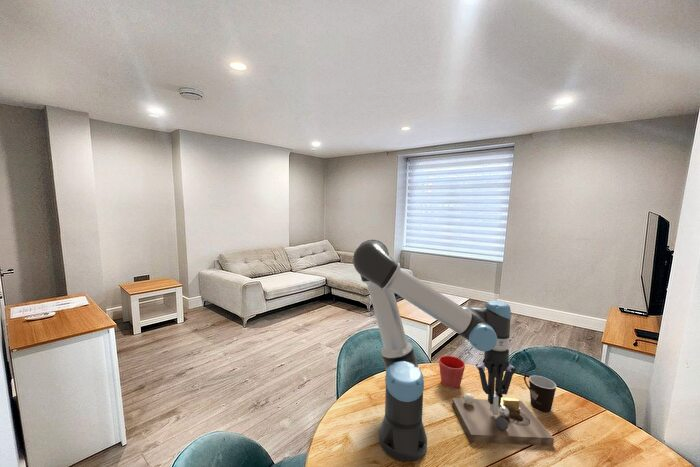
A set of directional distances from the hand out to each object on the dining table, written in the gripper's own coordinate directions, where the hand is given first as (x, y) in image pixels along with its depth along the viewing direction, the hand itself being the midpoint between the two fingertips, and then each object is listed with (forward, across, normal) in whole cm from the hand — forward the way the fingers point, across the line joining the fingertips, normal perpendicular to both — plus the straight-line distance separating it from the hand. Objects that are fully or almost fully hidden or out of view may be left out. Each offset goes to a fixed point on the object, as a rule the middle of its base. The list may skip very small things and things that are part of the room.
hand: (493, 412), depth 99 cm
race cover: (+1, +8, +6) cm, 10 cm away
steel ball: (0, +4, 0) cm, 4 cm away
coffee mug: (+4, +23, +11) cm, 26 cm away
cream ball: (0, -6, +6) cm, 9 cm away
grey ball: (0, 0, -6) cm, 6 cm away
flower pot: (+4, -7, +23) cm, 25 cm away
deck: (+4, +2, 0) cm, 4 cm away
